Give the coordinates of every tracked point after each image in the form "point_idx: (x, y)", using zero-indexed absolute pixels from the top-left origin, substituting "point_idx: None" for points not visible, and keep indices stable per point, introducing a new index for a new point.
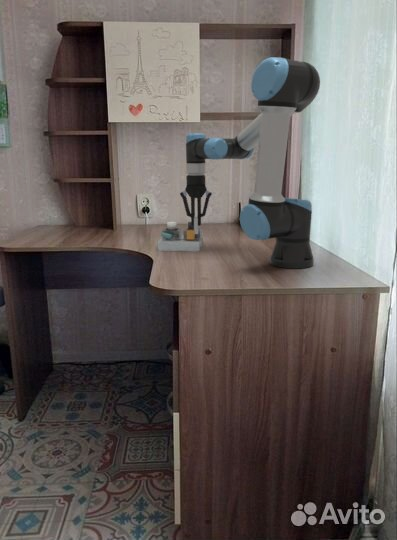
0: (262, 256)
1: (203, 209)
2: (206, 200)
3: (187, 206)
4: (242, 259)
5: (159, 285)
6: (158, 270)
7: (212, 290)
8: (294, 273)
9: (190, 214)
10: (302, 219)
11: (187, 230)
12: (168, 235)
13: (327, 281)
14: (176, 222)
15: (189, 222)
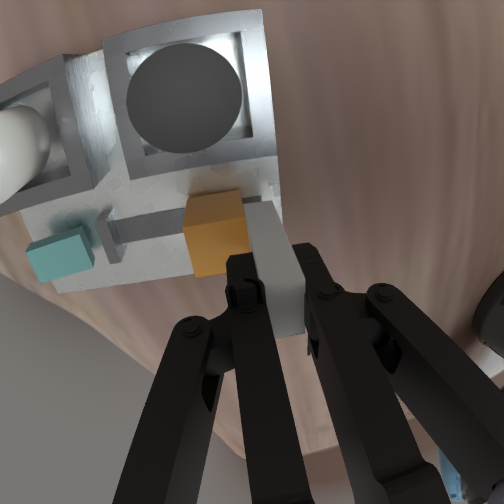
0: (488, 245)
1: (395, 388)
2: (465, 460)
3: (203, 458)
4: (430, 297)
5: None
6: (214, 424)
7: (335, 447)
8: (477, 354)
9: (228, 363)
10: None
11: (195, 261)
12: (79, 271)
13: (491, 366)
14: (18, 143)
15: (149, 121)
